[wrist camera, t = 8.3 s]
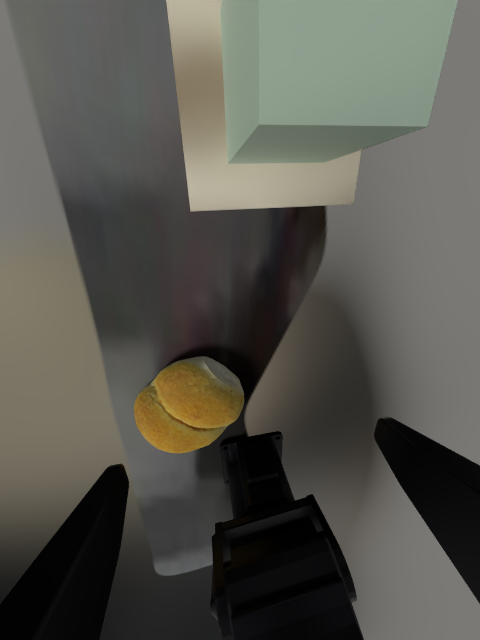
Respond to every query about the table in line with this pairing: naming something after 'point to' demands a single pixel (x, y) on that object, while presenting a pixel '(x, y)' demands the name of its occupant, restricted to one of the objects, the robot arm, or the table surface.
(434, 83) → the green block
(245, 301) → the table surface
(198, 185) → the birch base
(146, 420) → the bread roll
